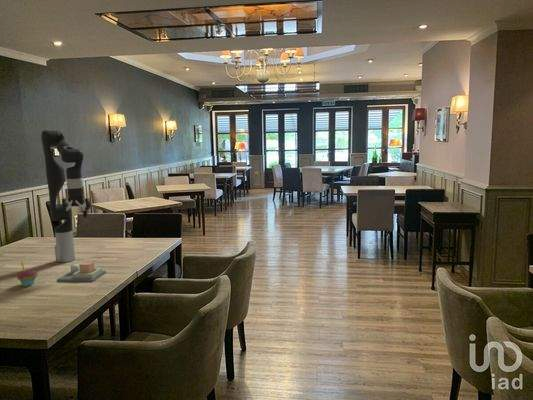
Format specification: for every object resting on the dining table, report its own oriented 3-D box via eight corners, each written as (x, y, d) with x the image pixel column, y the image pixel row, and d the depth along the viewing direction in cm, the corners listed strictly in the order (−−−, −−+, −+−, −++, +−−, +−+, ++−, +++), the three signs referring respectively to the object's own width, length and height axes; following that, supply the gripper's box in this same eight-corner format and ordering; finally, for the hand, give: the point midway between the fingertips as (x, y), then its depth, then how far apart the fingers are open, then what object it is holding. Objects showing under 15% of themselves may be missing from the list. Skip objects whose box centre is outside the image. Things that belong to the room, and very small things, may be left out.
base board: (57, 281, 195) (56, 271, 195) (72, 272, 209) (71, 263, 208) (92, 281, 194) (91, 271, 193) (106, 272, 208) (105, 263, 207)
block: (80, 276, 199) (79, 264, 198) (85, 273, 204) (84, 261, 203) (89, 276, 198) (88, 264, 198) (94, 273, 203) (94, 261, 203)
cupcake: (23, 288, 186) (20, 263, 185) (14, 285, 191) (11, 261, 189) (42, 283, 193) (39, 259, 192) (32, 280, 198) (30, 256, 196)
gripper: (57, 188, 207) (60, 218, 209) (84, 187, 206) (86, 218, 208) (66, 186, 214) (68, 216, 216) (91, 186, 213) (93, 216, 215)
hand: (77, 217), depth 212 cm, fingers open, 8 cm apart
